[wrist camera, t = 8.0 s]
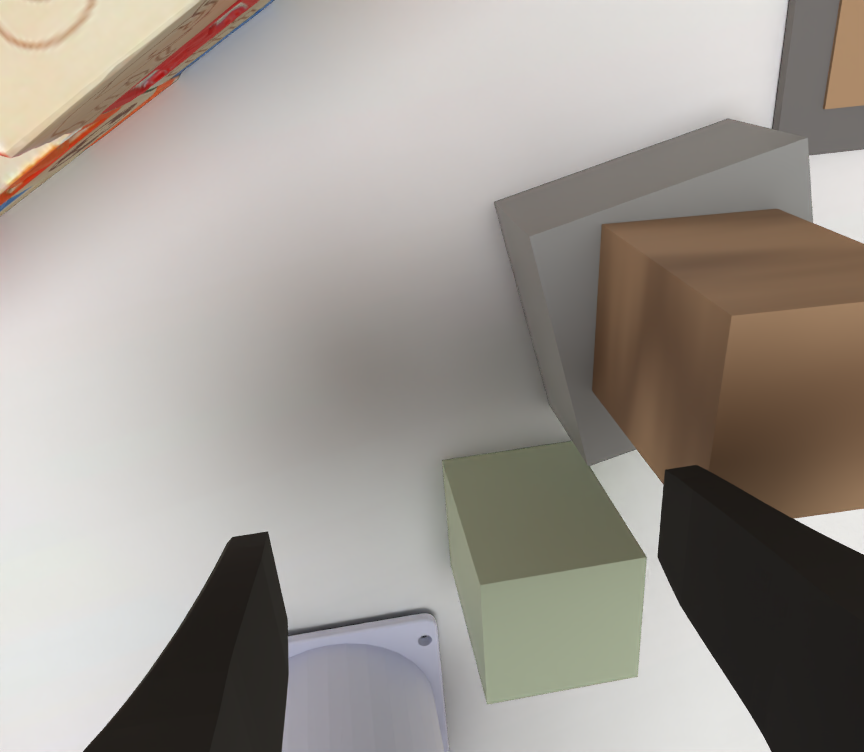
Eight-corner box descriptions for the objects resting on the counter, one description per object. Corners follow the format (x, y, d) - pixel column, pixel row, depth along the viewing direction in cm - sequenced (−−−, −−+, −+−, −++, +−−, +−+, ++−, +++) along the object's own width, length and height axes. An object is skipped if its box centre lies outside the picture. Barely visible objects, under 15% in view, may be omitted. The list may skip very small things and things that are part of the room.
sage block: (571, 544, 27) (637, 676, 21) (450, 564, 26) (487, 704, 21) (572, 440, 25) (646, 557, 19) (442, 459, 24) (480, 585, 19)
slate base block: (746, 329, 24) (822, 383, 20) (546, 400, 24) (587, 466, 20) (722, 117, 21) (807, 137, 17) (491, 199, 21) (529, 236, 17)
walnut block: (749, 372, 20) (910, 501, 15) (592, 390, 19) (699, 531, 14) (777, 208, 18) (975, 289, 13) (601, 224, 17) (732, 315, 12)
